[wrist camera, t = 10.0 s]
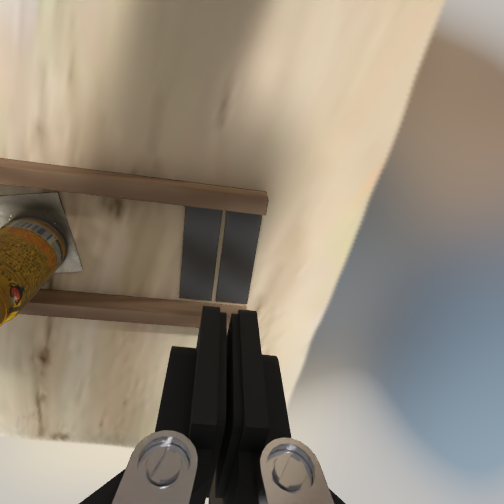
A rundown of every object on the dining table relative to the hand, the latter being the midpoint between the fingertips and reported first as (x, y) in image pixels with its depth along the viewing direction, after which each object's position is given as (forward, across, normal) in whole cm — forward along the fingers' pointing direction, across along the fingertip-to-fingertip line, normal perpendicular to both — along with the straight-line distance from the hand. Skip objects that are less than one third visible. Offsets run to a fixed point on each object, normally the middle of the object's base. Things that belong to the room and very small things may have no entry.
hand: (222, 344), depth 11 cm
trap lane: (+24, +10, +11) cm, 28 cm away
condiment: (+24, +17, +11) cm, 32 cm away
